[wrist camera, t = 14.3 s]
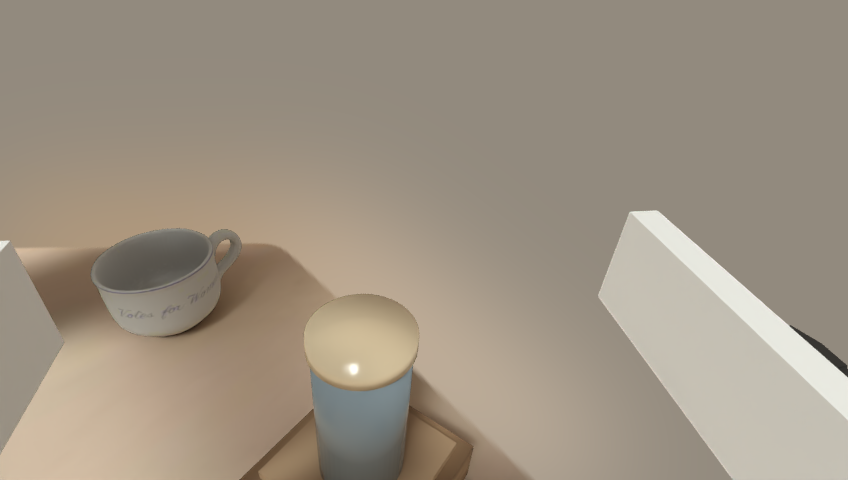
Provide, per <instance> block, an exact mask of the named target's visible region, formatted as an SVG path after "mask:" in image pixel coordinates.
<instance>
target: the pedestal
mask: <svg viewBox="0 0 848 480" xmlns="http://www.w3.org/2000/svg"><path fill="white" fill-rule="evenodd" d="M472 450H473V446H472V445H471V444H469V443H468V442H466V441H464V440H463V439H461V438H460V437H458V436H457V435H455V434H453V433H452V432H450V431H449V430H447V429H446V428H444V427H442V426H441V425H439V424H438V423H436V422H435V421H433V420H431V419H430V418H428V417H427V416H425V415H424V414H422V413H420V412H419V411H417V410H416V409H414V408H413V407H411V406H409V410H408V420H407V430H406V441H405V451H404V461H403V467H402V470H401V473H400V475H399V477H398V479H397V480H464V478H465V476H466V475H467V472H468V468H469V463H470V459H471V455H472ZM240 480H323V479H322V477H321V474H320V470H319V461H318V450H317V439H316V428H315V417H314V409H312V410H311V411H310V412H309V413H308V414H307V415H306V416H305V417H304V418H303V419H302V420H301V421H300V422H299V423H298V424H297V425H296V426H295V427H294V428H293V429H292V430H291V431H290V432H289V433H288V434H287V435H285V436H284V437H283V438H282V439H281V440H280V441H279V442H278V443H277V444H276V445H275V446H274V447H273V448H272V449H271V450H270V451H269V452H268V453H267V454H266V455H265V456H264V457H263V458H262V459H261V460H260V461H259V462H257V463H256V464H255V465H254V466H253V467H252V468H251V469H250V470H249V471H248V472H247V473H246V474H245V475H244V476H243V477H242V478H241V479H240Z"/></svg>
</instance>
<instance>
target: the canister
mask: <svg viewBox="0 0 848 480" xmlns="http://www.w3.org/2000/svg"><path fill="white" fill-rule="evenodd" d="M418 344H419V328H418V325H417V322H416V320H415V318H414V317H413V315H412V314H411V313H410V312H409V311H408V310H407V309H406V308H405V307H404V306H402V305H401V304H399V303H398V302H396V301H394V300H392V299H389V298H386V297H382V296H379V295H372V294H356V295H348V296H344V297H340V298H337V299H335V300H332V301H330V302H328V303H326V304H325V305H323V306H322V307H320V308H319V309H318V310H317V311H316V312H315V313H314V314H313V315H312V316H311V318H310V319H309V320H308V322H307V324H306V327H305V330H304V349H305V357H306V361H307V363H308V365H309V367H310V373H311V384H312V395H313V406H314V417H315V428H316V439H317V450H318V461H319V470H320V474H321V477H322V479H323V480H397V479H398V477H399V475H400V473H401V470H402V467H403V461H404V451H405V441H406V430H407V420H408V410H409V400H410V390H411V379H412V369H413V364H414V362H415V359H416V357H417V352H418Z"/></svg>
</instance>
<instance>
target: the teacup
mask: <svg viewBox="0 0 848 480" xmlns="http://www.w3.org/2000/svg"><path fill="white" fill-rule="evenodd" d="M226 239H229V240H230V243H231V245H230V248H229V250H228V252H227V254H226V255H225V256H224V258H223V259H222V260H221V261H220V262H219V263H218V264H216V261H215V258H214V257H215V252H216V248H217V246H218V244H219V243H220V242H221V241H223V240H226ZM241 247H242V244H241V240H240V238H239V237H238V235H237V234H236V233H234V232H233V231H231V230H227V229H221V230H218V231H216V232H214V233H213V234H212V235H211V236H210V237H209V238H208V237H206V236H205V235H203V234H202V233H199V232H197V231H193V230H189V229H180V228H176V229H162V230H155V231H150V232H146V233H142V234H138V235H136V236H133V237H130V238H128V239H125V240H123V241H121V242H119V243H117V244H115V245H114V246H112V247H111V248H109V249H107V250H106V251H105V252H104V253H102V254H101V255H100V256H99V257H98V258H97V260H96V261H95V262H94V264H93V266H92V269H91V279H92V281H93V283H94V285H95V286H96V287H97V288H98V290H99V293H100V295H101V297H102V299H103V301H104V303H105V305H106V307H107V309H108V310H109V312H110V314H111V316H112V317H113V319H114V320H115V321H116V322H117V324H118V325H119V326H120V327H122V328H123V329H125V330H126V331H128V332H130V333H133V334H136V335H141V336H152V337H153V336H170V335H174V334H178V333H181V332H184V331H186V330H188V329H190V328H192V327H194V326H195V325H197V324H198V323H199V322H200V321H202V320H203V319H204V318H205V317H206V316H207V315H208V314H209V313H210V312H211V311H212V310H213V309H214V307H215V306H216V304H217V302H218V300H219V297H220V293H221V282H220V280H221V278H222V276H223V274H224V272H225V271H226V270H227V269H228V268H229V267H230V266H231V265H232V264H233V263H234V261H235V260H236V259H237V257H238V256H239V254H240V251H241Z"/></svg>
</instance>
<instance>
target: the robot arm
mask: <svg viewBox="0 0 848 480" xmlns="http://www.w3.org/2000/svg"><path fill="white" fill-rule="evenodd" d="M598 297H599V299H600V300H601V301H602V303H603V304H604V305H605V307H606V308H607V309H608V311H609V312H610V314H611V315H612V316H613V318H614V319H615V320H616V322H617V323H618V324H619V326H620V327H621V328H622V330H623V331H624V333H625V334H626V335H627V336H628V338H629V339H630V341H631V342H632V343H633V345H634V346H635V348H636V349H637V350H638V352H639V353H640V354H641V356H642V357H643V358H644V360H645V361H646V362H647V364H648V365H649V367H650V368H651V369H652V370H653V372H654V373H655V375H656V376H657V377H658V379H659V380H660V382H662V384H663V385H664V387H665V388H666V390H667V391H668V392H669V394H670V395H671V396H672V398H673V399H674V400H675V402H676V403H677V405H678V406H679V407H680V409H681V410H682V411H683V413H684V414H685V415H686V417H687V418H688V420H689V421H690V422H691V423H692V425H693V426H694V428H695V429H696V430H697V432H698V433H699V435H700V436H701V437H702V439H703V440H704V441H705V443H706V444H707V445H708V447H709V448H710V450H711V451H712V452H713V454H714V455H715V456H716V458H717V459H718V460H719V462H720V463H721V464H722V466H723V467H724V469H725V470H726V471H727V473H728V474H729V475H730V477H731V478H732V479H733V480H848V369H847V365H846V364H845V363H843V362H842V361H841V360H840V359H839V358H838V357H837V356H835V355H834V354H833V353H832V352H831V351H830V350H828V349H827V348H826V347H825V346H824V345H822V344H821V343H820V342H818V341H816V340H815V339H813V338H811V337H809V336H808V335H806V334H804V333H803V332H801V331H799V330H798V329H796V328H794V327H793V326H791V325H790V326H789V325H787V324H786V323H785V322H784V321H783V320H782V319H781V318H779V317H778V316H777V315H776V314H775V313H774V312H773V311H771V310H770V309H769V308H768V307H767V306H766V305H765V304H763V303H762V302H761V301H760V300H759V299H758V298H757V297H755V296H754V295H753V294H752V293H751V292H749V290H747V289H746V288H745V287H744V286H743V285H742V284H741V283H739V282H738V281H737V280H736V279H735V278H734V277H733V276H732V275H730V274H729V273H728V272H727V271H726V270H725V269H724V268H722V267H721V266H720V265H719V264H718V263H717V262H716V261H714V260H713V259H712V258H711V257H710V256H709V255H708V254H706V253H705V252H704V251H703V250H702V249H701V248H700V247H698V246H697V245H696V244H695V243H694V242H693V241H692V240H690V239H689V238H688V237H687V236H686V235H685V234H684V233H682V232H681V231H680V230H679V229H678V228H677V227H676V226H674V225H673V224H672V223H671V222H670V221H669V220H668V219H666V218H665V217H664V216H663V215H662V214H661V213H660V212H658V211H636V212H630V213H629V215H628V218H627V221H626V223H625V226H624V228H623V231H622V234H621V236H620V239H619V242H618V244H617V247H616V250H615V252H614V255H613V258H612V260H611V263H610V266H609V268H608V271H607V274H606V276H605V279H604V281H603V284H602V287H601V290H600V292H599V295H598ZM63 344H64V340H63V338H62V336H61V334H60V333H59V331H58V329H57V327H56V325H55V323H54V321H53V320H52V318H51V316H50V314H49V312H48V310H47V308H46V307H45V305H44V303H43V301H42V299H41V297H40V295H39V294H38V292H37V290H36V288H35V286H34V284H33V282H32V281H31V279H30V277H29V275H28V273H27V271H26V269H25V268H24V266H23V264H22V262H21V260H20V258H19V256H18V255H17V253H16V251H15V249H14V247H13V245H12V244H11V242H10V241H0V454H1V452H2V450H3V449H4V447H5V445H6V443H7V442H8V440H9V438H10V436H11V435H12V433H13V431H14V429H15V428H16V426H17V424H18V422H19V421H20V419H21V417H22V415H23V414H24V412H25V410H26V408H27V407H28V405H29V403H30V401H31V400H32V398H33V396H34V394H35V393H36V391H37V389H38V387H39V386H40V384H41V382H42V380H43V379H44V377H45V375H46V373H47V372H48V370H49V368H50V367H51V365H52V363H53V361H54V360H55V358H56V356H57V354H58V353H59V351H60V349H61V347H62V346H63Z"/></svg>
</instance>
